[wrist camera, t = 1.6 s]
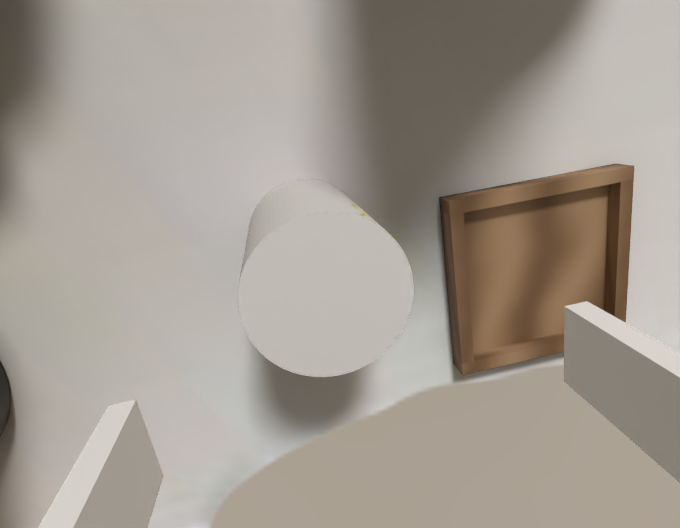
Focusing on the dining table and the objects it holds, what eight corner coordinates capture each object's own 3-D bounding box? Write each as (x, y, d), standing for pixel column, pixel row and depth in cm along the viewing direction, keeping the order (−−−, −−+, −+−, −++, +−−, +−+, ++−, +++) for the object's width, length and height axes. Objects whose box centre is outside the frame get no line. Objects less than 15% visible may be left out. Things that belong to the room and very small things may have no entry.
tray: (453, 363, 37) (462, 375, 35) (439, 197, 32) (448, 201, 31) (608, 327, 38) (624, 337, 36) (615, 163, 34) (634, 165, 32)
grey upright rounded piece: (363, 285, 33) (412, 367, 22) (254, 294, 32) (246, 386, 21) (361, 175, 31) (415, 205, 20) (242, 182, 30) (227, 217, 19)
